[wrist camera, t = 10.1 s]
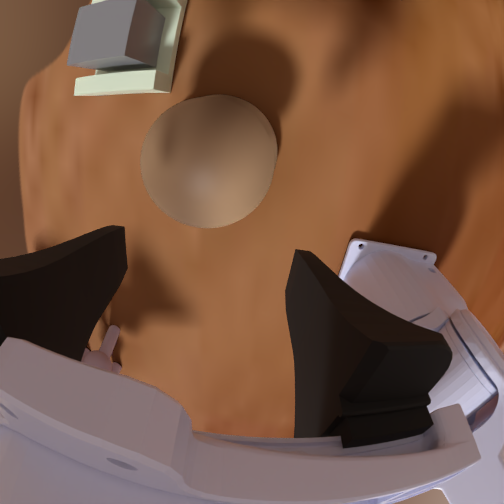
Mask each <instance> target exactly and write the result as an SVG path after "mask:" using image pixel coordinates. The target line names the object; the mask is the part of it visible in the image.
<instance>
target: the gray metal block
mask: <svg viewBox="0 0 504 504" xmlns="http://www.w3.org/2000/svg"><path fill="white" fill-rule="evenodd" d="M164 23H165V17H164V16H163V15H162V14H161V13H159V12H158V11H157V10H156V9H155V8H154V7H153V6H152V5H151V4H149V3H148V2H147V1H146V0H106V1H102V2H98V3H94V4H90V5H87V6H83V7H80V8H79V12H78V16H77V19H76V24H75V27H74V31H73V36H72V40H71V45H70V50H69V56H68V61H67V65H68V66H76V67H83V68H89V69H95V70H101V71H115V70H126V69H139V68H156V65H157V59H158V53H159V48H160V42H161V37H162V32H163V27H164Z"/></svg>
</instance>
